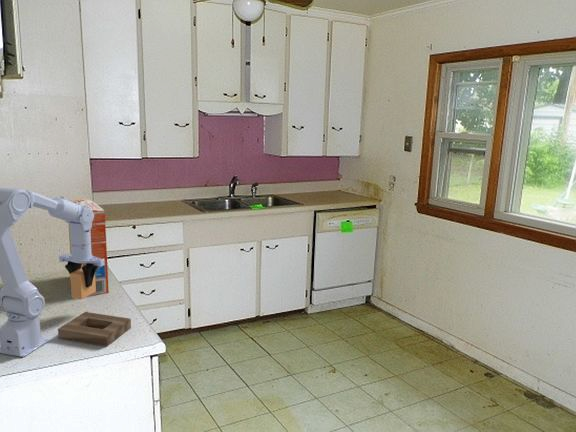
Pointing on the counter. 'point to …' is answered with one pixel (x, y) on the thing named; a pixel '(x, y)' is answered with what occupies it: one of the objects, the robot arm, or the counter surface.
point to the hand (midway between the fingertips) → (83, 285)
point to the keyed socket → (94, 329)
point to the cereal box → (97, 244)
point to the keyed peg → (80, 285)
